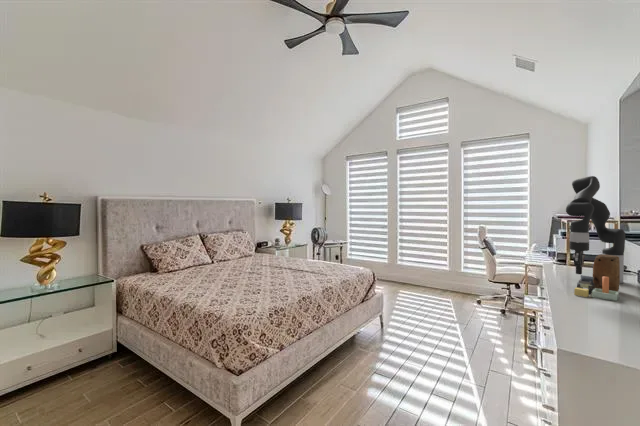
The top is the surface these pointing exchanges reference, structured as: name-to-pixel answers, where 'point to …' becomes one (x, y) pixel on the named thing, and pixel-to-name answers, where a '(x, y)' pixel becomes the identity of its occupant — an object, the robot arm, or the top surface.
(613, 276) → the brown rounded block
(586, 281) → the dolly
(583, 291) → the block
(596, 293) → the tray
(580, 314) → the top surface
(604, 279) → the pin
